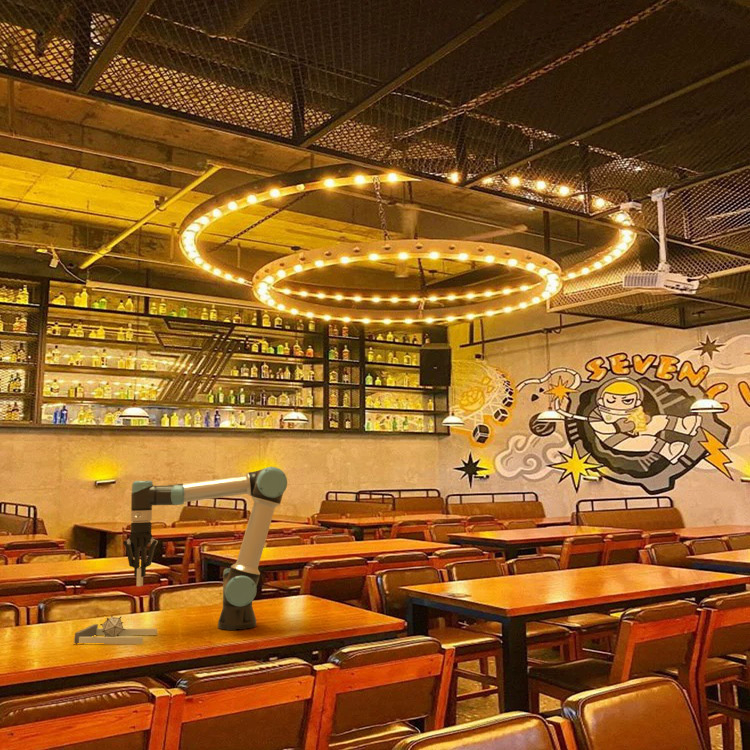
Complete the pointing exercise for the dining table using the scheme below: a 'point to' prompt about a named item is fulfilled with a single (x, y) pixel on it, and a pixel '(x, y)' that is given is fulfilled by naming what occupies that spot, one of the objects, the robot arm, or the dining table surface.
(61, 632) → the dining table surface
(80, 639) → the tan piece
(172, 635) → the dining table surface
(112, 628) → the game die
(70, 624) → the dining table surface
